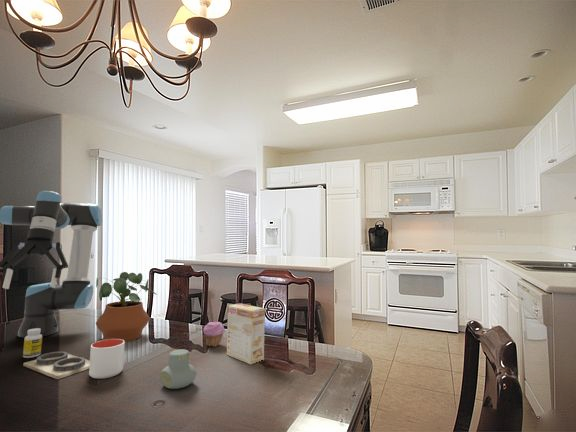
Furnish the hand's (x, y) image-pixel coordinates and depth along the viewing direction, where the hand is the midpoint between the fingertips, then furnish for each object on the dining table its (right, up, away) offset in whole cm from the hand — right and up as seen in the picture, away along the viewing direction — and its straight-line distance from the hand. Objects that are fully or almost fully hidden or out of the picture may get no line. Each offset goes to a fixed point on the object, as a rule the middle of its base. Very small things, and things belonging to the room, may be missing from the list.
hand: (29, 287), depth 112 cm
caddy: (+10, -28, +2) cm, 30 cm away
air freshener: (+56, -28, -11) cm, 63 cm away
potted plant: (+15, -31, +39) cm, 52 cm away
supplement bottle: (-8, -29, +11) cm, 32 cm away
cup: (+29, -28, -4) cm, 41 cm away
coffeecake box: (+73, -30, +13) cm, 80 cm away
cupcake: (+58, -31, +27) cm, 71 cm away
